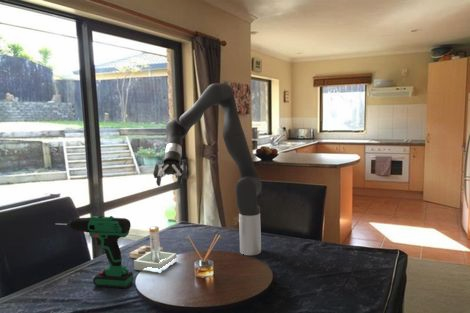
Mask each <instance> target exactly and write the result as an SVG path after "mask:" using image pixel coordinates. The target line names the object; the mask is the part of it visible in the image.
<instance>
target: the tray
mask: <svg viewBox="0 0 470 313" xmlns="http://www.w3.org/2000/svg"><path fill="white" fill-rule="evenodd" d="M165 258H166V259H165ZM175 258H177V253H175V252H174V253H173V252H165V251H163V252H160V260H161V259H165V260H163V261H162V262H160V263H154V262H151V251H150V252H148V253H147V254H145V255H143V256H141V257H140V258H138V259H137V258H135V260H133V267H134V268H133V269H134V270H136V271H141V270H143V269H144V268H147V267H152V268H158V269H160V268H162V267H163V266H165V265H166V264H168V263H169V262H171V261H172V260H173V259H175Z"/></svg>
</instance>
